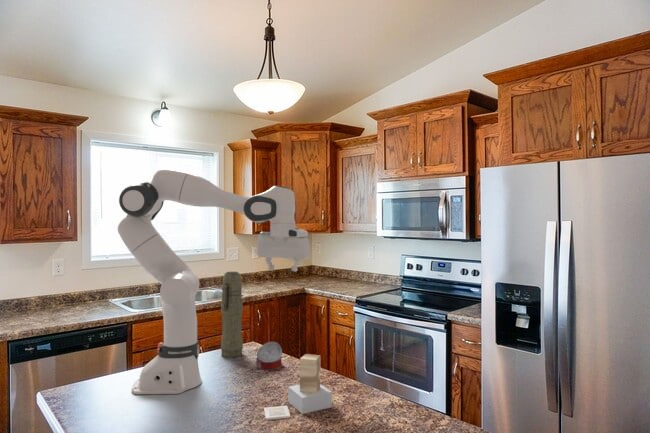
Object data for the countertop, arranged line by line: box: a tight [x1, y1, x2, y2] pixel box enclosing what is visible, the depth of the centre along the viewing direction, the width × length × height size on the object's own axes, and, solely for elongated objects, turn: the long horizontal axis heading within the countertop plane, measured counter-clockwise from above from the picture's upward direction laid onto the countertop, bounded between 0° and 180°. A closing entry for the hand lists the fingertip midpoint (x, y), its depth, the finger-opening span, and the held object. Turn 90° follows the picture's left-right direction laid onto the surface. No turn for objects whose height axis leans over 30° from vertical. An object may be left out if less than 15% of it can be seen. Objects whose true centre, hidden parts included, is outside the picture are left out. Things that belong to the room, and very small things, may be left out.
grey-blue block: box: [287, 383, 333, 415], centre depth 137 cm, size 10×10×5 cm
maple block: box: [299, 353, 322, 393], centre depth 137 cm, size 5×5×10 cm
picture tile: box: [263, 405, 291, 421], centre depth 130 cm, size 7×7×1 cm
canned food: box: [255, 341, 283, 371], centre depth 173 cm, size 11×10×10 cm
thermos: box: [220, 271, 244, 359], centre depth 187 cm, size 9×12×35 cm
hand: (282, 270), depth 157 cm, fingers open, 8 cm apart
